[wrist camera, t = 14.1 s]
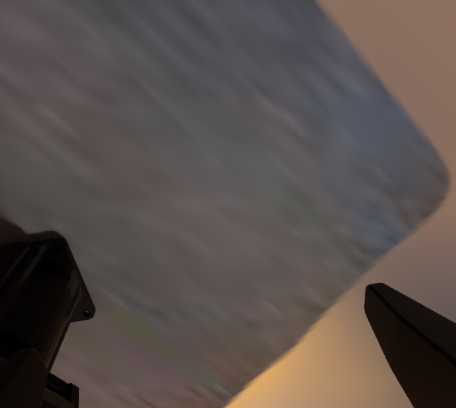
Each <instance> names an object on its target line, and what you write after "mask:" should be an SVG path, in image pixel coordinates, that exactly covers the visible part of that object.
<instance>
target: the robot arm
mask: <svg viewBox="0 0 456 408" xmlns="http://www.w3.org/2000/svg"><path fill="white" fill-rule="evenodd" d="M55 245H59V246H61V248H57V247H56V246H55ZM364 309H365V313H366V316H367V318H368V321H369V323H370V325H371V327H372V329H373V331H374V333H375V336H376V338H377V340H378V342H379V344H380V346H381V349H382V351H383V353H384V355H385V357H386V359H387V361H388V363H389V366H390V368H391V369H392V371H393V373H394V375H395V376H396V378H397V380H398V382H399V383H400V385H401V387H402V388H403V390H404V392H405V393H406V395H407V397H408V398H409V400H410V402H411V404H412V405H413V407H414V408H456V323H455V322H453V321H451V320H449V319H447V318H445V317H444V316H442V315H440V314H438V313H436V312H434V311H433V310H431V309H429V308H427V307H426V306H424V305H422V304H420V303H418V302H416V301H415V300H413V299H411V298H409V297H407V296H406V295H403V294H402V293H400V292H398V291H397V290H395V289H393V288H391V287H389V286H388V285H386V284H384V283H375V284H370V285H368V286H366V290H365V304H364ZM85 311H88V312H89V313H87V312H85ZM95 311H96V310H95V307H94V304H93V302H92V300H91V297H90V295H89V293H88V290H87V288H86V286H85V283H84V281H83V278H82V276H81V274H80V271H79V269H78V267H77V264H76V262H75V260H74V257H73V255H72V253H71V250H70V248H69V245H68V243H67V242H66V241H65V240H64V239H60V238H56V239H50V240H45V241H39V242H33V243H26V242H19V243H13V244H7V245H1V246H0V408H79V388H78V387H77V386H75V385H74V384H72V383H69V384H68V383H66V382H65V381H63V380H62V379H60V378H58V377H57V376H55V375H54V374H52V373H50V371H51V368H52V366H53V364H54V361H55V359H56V356H57V354H58V351H59V349H60V347H61V344H62V342H63V339H64V337H65V334H66V332H67V330H68V327H69V325H70V323H71V322H77V321H82V320H88V319H91V318H93V316H94V314H95Z"/></svg>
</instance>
